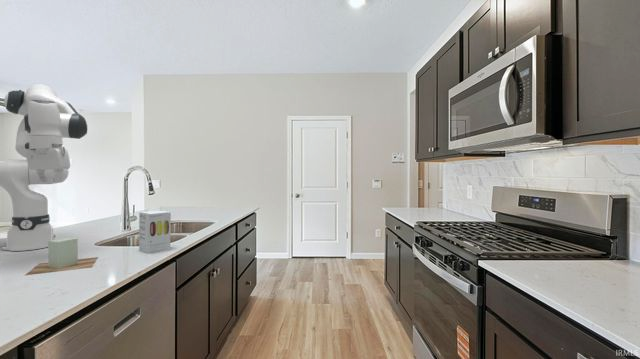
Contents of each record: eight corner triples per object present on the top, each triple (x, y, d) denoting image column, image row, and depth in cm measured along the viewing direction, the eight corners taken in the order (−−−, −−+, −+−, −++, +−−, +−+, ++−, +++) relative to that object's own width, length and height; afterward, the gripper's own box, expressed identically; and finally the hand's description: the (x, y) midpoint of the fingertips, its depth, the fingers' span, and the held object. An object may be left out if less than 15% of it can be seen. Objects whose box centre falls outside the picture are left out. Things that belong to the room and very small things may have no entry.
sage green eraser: (48, 267, 102) (48, 240, 102) (68, 262, 108) (68, 237, 107) (58, 268, 100) (57, 242, 100) (77, 263, 106) (77, 238, 106)
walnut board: (39, 266, 106) (39, 263, 106) (98, 260, 114) (98, 257, 114) (24, 279, 94) (24, 275, 94) (92, 270, 102) (92, 267, 102)
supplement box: (148, 254, 122) (147, 213, 122) (138, 251, 128) (138, 211, 128) (171, 250, 130) (171, 211, 130) (161, 246, 136) (161, 209, 135)
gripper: (73, 143, 109) (76, 181, 110) (42, 145, 117) (45, 181, 118) (53, 142, 103) (56, 182, 104) (21, 145, 111) (24, 182, 112)
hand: (50, 182), depth 111 cm, fingers open, 8 cm apart
